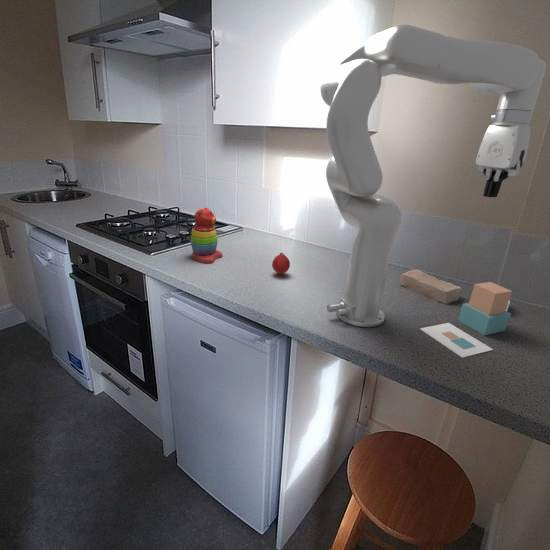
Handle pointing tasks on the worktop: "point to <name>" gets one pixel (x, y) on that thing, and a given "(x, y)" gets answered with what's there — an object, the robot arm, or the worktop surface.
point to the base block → (483, 320)
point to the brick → (430, 286)
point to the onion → (281, 264)
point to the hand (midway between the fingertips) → (489, 196)
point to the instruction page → (456, 340)
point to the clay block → (489, 298)
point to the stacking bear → (204, 237)
